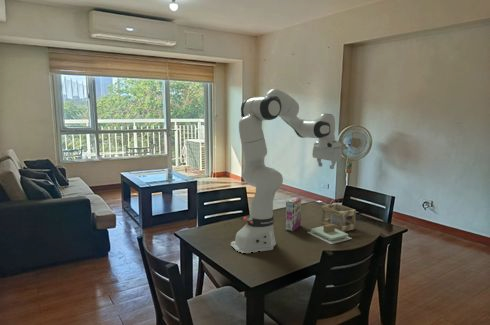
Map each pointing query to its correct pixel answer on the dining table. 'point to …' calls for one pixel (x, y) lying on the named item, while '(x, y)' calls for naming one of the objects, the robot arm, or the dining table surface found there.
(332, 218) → the medicine box
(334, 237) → the lid
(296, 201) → the candy bar box
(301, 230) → the dining table surface
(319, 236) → the mat
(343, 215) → the crate
